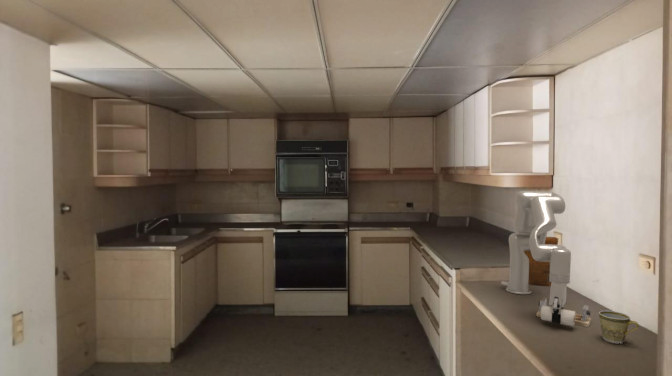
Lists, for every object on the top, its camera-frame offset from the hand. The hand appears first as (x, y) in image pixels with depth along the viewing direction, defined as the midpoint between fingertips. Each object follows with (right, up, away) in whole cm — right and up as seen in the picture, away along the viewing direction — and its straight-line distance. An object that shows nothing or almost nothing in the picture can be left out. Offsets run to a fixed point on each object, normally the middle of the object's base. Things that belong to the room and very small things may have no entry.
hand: (557, 320), depth 178 cm
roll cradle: (+7, -2, +9) cm, 12 cm away
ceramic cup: (+15, -4, -15) cm, 22 cm away
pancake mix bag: (+23, 0, +66) cm, 70 cm away
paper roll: (0, -1, 0) cm, 1 cm away
